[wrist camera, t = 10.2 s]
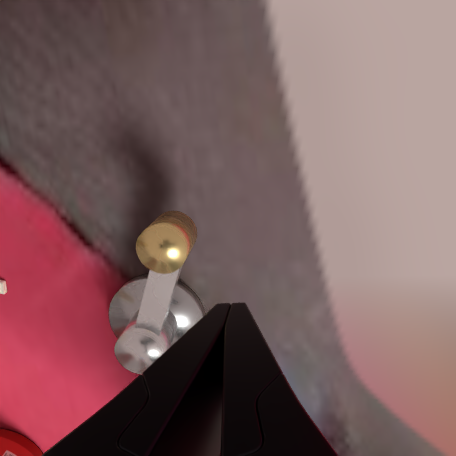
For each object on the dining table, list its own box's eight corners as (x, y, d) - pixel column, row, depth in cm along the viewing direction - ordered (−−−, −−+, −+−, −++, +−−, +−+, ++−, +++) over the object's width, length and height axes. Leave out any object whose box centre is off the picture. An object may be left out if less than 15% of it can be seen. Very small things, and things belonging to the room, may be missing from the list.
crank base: (211, 284, 21) (209, 290, 21) (200, 361, 24) (198, 369, 23) (114, 266, 22) (108, 271, 21) (113, 344, 24) (108, 351, 24)
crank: (171, 346, 23) (147, 407, 18) (130, 332, 23) (95, 389, 18) (217, 208, 19) (200, 239, 14) (166, 190, 18) (133, 216, 14)
